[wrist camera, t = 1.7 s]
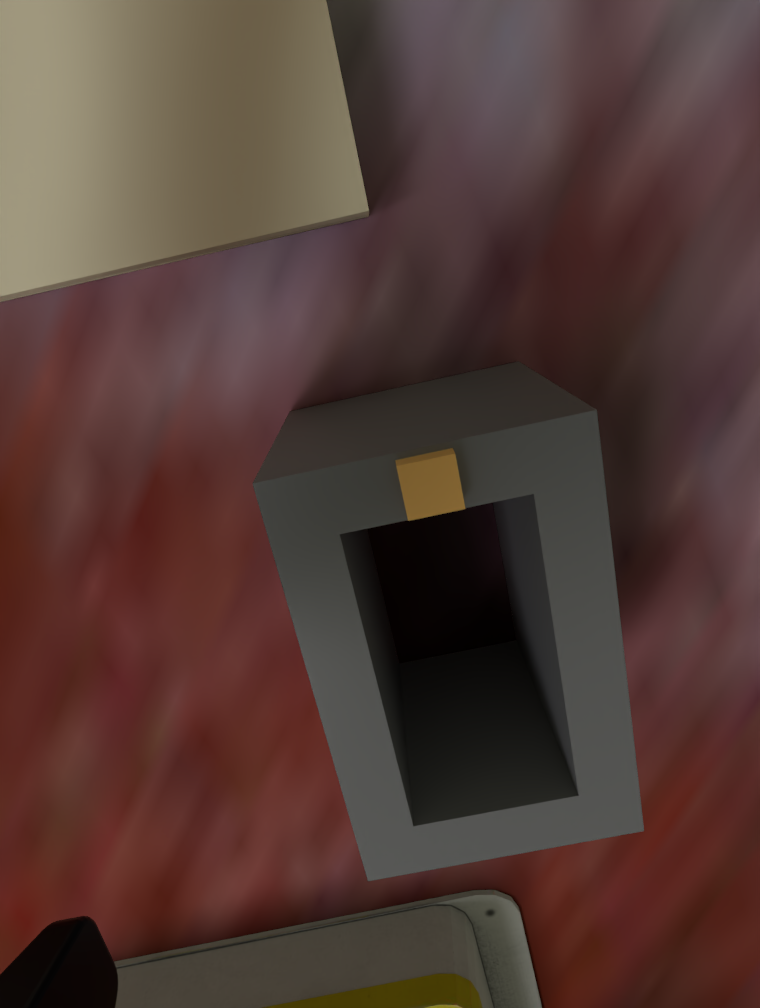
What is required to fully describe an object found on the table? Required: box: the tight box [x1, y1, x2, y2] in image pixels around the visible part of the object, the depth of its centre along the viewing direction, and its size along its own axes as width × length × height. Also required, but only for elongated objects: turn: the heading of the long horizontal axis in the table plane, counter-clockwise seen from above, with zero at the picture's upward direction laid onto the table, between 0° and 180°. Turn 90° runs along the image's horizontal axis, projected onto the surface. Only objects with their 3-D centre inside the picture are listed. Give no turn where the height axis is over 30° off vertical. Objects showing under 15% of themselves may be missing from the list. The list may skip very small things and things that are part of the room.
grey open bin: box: [253, 361, 644, 881], centre depth 13 cm, size 7×5×5 cm, turn 12°
